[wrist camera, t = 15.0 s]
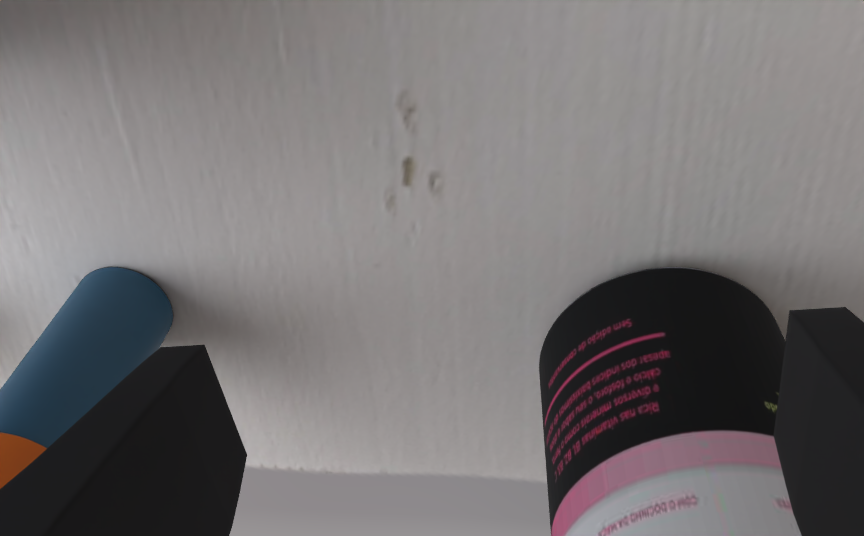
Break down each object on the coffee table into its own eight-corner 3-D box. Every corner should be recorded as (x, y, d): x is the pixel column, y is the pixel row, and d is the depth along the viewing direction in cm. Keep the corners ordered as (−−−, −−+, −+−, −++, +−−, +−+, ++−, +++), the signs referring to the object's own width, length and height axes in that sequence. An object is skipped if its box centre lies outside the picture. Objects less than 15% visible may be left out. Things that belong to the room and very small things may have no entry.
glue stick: (147, 360, 25) (17, 596, 18) (57, 307, 24) (-114, 535, 17) (195, 303, 23) (72, 536, 17) (102, 244, 22) (-67, 467, 16)
